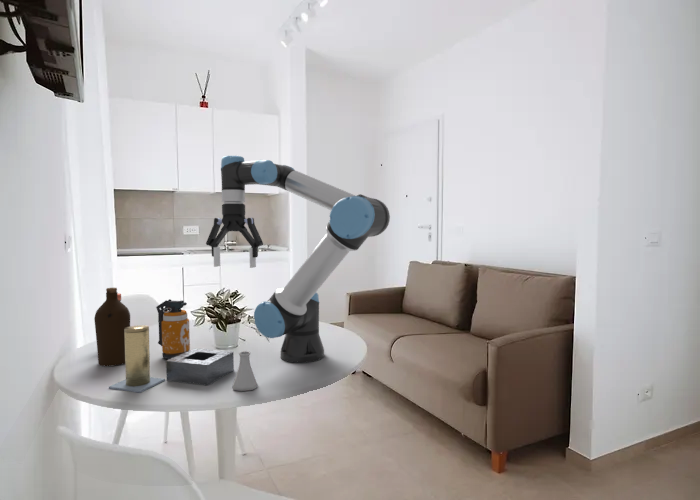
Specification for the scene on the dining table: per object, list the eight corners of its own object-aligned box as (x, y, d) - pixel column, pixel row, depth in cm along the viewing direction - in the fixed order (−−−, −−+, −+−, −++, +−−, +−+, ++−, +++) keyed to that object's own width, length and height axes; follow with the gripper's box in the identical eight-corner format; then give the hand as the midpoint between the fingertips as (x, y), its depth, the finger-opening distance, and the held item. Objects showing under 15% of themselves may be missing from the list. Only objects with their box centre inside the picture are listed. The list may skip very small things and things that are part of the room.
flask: (260, 382, 134) (259, 349, 133) (255, 391, 127) (255, 356, 126) (235, 382, 134) (234, 349, 133) (229, 392, 127) (228, 356, 126)
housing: (233, 370, 145) (233, 351, 145) (207, 385, 132) (207, 364, 131) (195, 366, 149) (195, 348, 149) (166, 380, 136) (166, 360, 135)
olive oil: (137, 361, 154) (134, 287, 153) (103, 369, 146) (100, 291, 145) (123, 355, 161) (121, 285, 160) (91, 362, 153) (88, 288, 152)
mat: (165, 380, 136) (165, 378, 136) (140, 392, 126) (140, 390, 126) (134, 376, 139) (134, 375, 139) (108, 388, 130) (108, 386, 130)
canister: (180, 361, 154) (179, 302, 153) (151, 359, 157) (149, 301, 155) (195, 353, 163) (193, 298, 162) (167, 352, 165) (165, 297, 164)
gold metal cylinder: (155, 380, 135) (153, 326, 134) (138, 387, 129) (137, 330, 128) (137, 377, 137) (136, 324, 136) (120, 384, 131) (119, 329, 130)
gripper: (272, 203, 153) (273, 266, 154) (207, 204, 160) (209, 264, 161) (261, 202, 145) (262, 269, 147) (194, 203, 153) (196, 266, 154)
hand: (234, 267), depth 154 cm, fingers open, 13 cm apart
